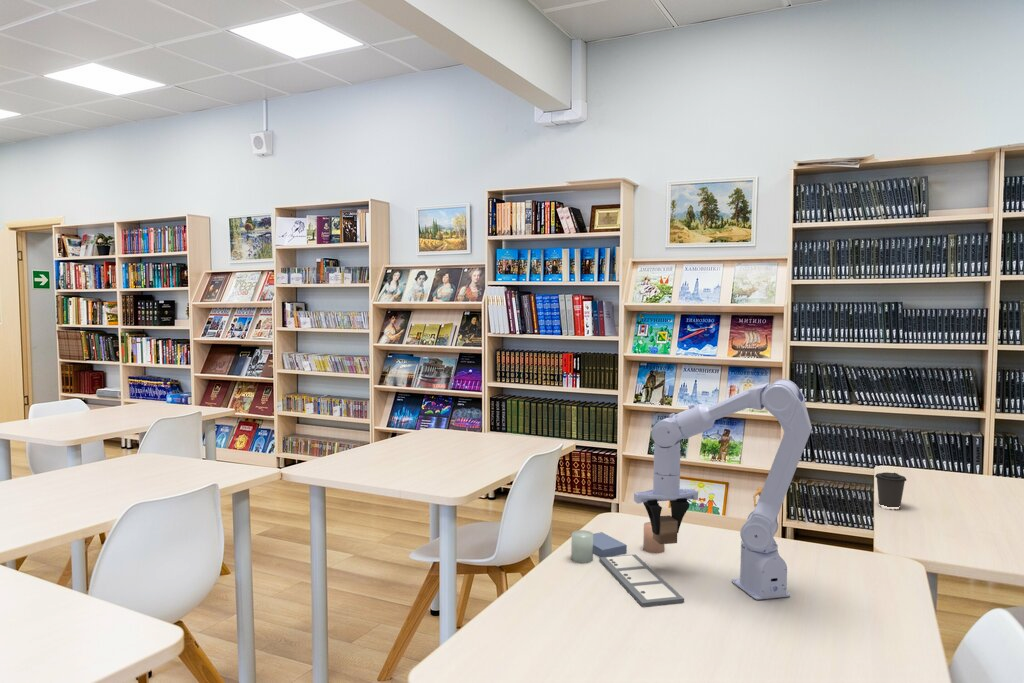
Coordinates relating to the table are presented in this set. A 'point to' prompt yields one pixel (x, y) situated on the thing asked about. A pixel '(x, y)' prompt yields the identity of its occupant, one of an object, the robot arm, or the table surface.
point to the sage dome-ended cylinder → (582, 546)
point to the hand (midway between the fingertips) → (665, 532)
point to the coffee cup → (890, 489)
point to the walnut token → (667, 530)
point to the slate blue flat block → (607, 546)
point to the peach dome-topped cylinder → (651, 540)
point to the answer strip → (641, 581)
